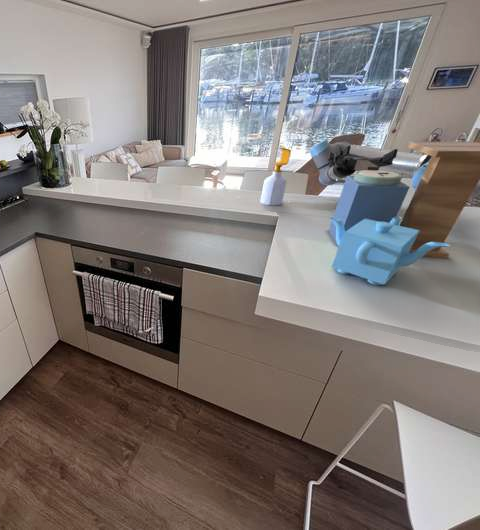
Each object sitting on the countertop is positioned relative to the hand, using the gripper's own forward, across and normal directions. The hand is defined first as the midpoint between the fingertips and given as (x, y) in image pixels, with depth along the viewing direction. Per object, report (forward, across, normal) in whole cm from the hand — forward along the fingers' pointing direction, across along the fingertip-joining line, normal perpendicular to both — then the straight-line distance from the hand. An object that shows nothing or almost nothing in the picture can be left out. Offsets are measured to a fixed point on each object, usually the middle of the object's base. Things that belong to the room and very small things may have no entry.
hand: (371, 151), depth 98 cm
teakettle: (+22, +3, -41) cm, 47 cm away
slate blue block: (+4, 0, -31) cm, 31 cm away
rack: (+5, -14, -30) cm, 34 cm away
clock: (+8, +2, -11) cm, 14 cm away
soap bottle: (-30, +23, -16) cm, 41 cm away
